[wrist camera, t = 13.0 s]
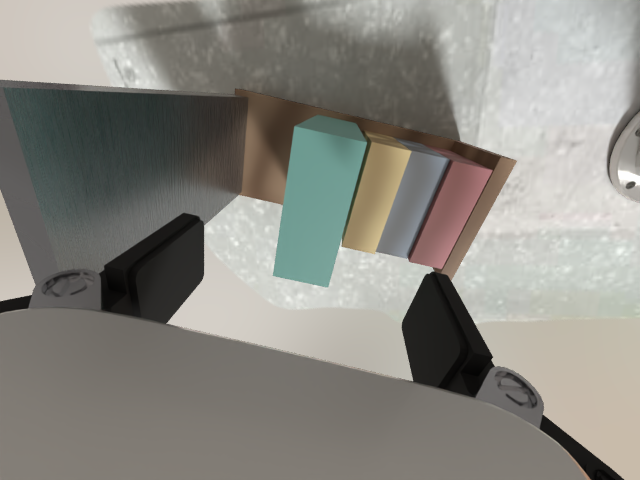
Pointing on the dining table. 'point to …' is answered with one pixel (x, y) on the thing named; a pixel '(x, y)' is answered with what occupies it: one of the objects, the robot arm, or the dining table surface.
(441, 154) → the book rack
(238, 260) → the dining table surface
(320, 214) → the loose book
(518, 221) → the dining table surface
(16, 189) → the bookend
